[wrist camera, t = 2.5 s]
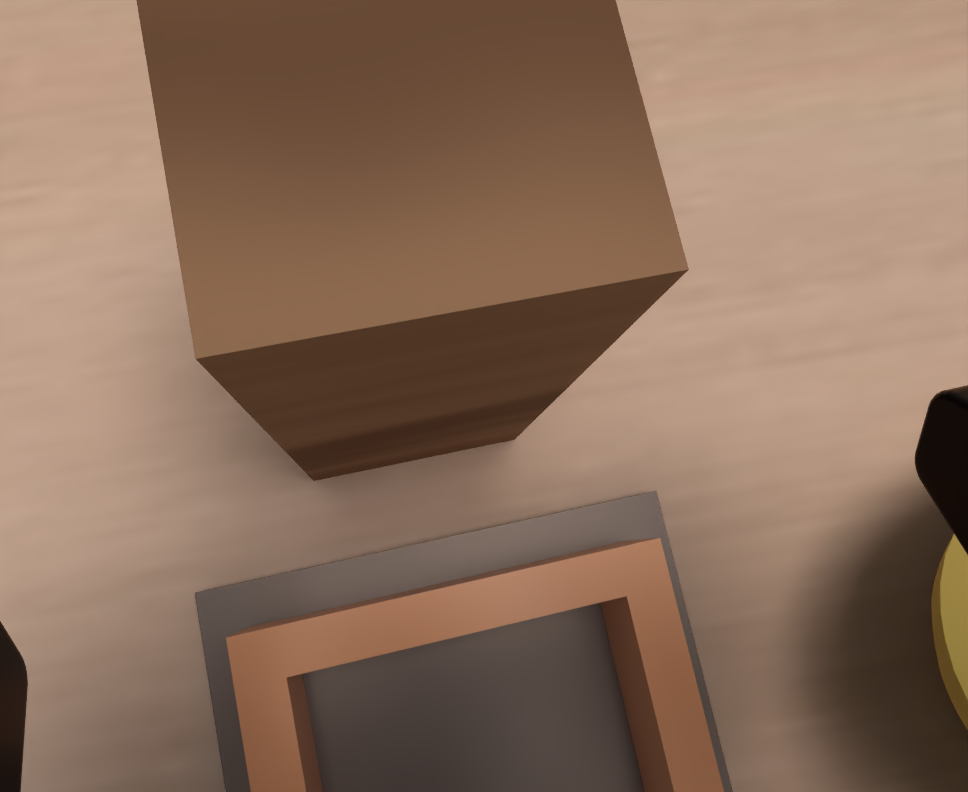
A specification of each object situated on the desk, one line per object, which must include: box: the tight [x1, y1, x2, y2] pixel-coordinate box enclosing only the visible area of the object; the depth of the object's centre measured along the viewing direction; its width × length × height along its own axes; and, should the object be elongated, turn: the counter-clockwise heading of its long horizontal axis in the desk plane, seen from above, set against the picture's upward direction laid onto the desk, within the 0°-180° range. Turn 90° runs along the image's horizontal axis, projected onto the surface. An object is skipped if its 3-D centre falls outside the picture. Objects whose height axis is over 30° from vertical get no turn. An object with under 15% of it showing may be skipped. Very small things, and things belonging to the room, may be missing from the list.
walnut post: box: [137, 0, 689, 481], centre depth 15 cm, size 5×5×12 cm
